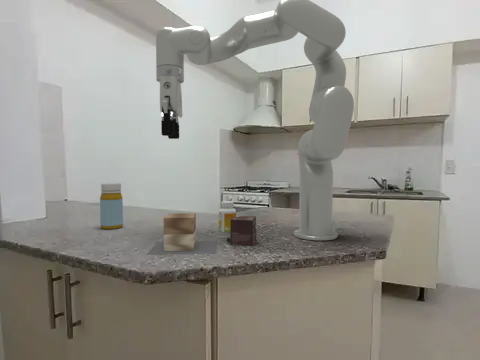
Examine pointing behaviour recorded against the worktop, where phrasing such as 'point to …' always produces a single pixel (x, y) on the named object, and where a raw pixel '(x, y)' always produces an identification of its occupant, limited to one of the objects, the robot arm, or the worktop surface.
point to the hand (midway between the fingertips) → (170, 137)
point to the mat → (200, 248)
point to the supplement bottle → (226, 215)
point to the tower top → (179, 223)
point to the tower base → (180, 242)
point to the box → (243, 230)
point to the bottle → (111, 206)
